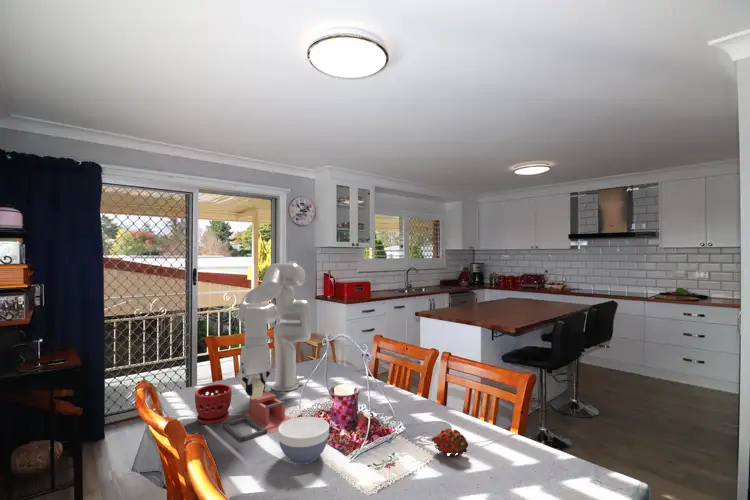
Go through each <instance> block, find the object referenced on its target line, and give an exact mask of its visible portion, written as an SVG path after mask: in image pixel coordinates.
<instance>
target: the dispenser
mask: <svg viewBox="0 0 750 500" xmlns="http://www.w3.org/2000/svg"><path fill="white" fill-rule="evenodd" d="M248 398H249V399H248V400H249V401H248V402H249V410H248V412H247V413H245V414H243V416H244V417H246V416H248V417H249V418H251V419H252V420H254V421H255V422H256V423H258V424H259V425H261V426H262V427H264V428H265V429H267V433H269V434H274V433H276V432H277V433H278V429H279V426H280V425H281V424H282V423H284V422H285V421H287V420H290V419H292V417H290V416H288V415H286V401H285V400H283V401H281V400H280V399H277V395H276V394H274V393H272V392H271V391H269V390H265V392H263V394H262V397H259V398H256V399H252V400H251V399H250V397H248Z"/></svg>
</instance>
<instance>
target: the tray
mask: <svg viewBox="0 0 750 500" xmlns="http://www.w3.org/2000/svg"><path fill="white" fill-rule="evenodd" d="M243 422H246V423H247V424H249V425H250V426H252V427H253V428H255V429H256V430H257V431H255V432H251V433H249V434H245V435H243V434H242V433H241V432H239V431H238V430H237V429H236V428H234V427H233V425H236V424H237V425H238V424H240V423H243ZM222 427H223V428H225V430H226V431H228V432H229V433H230V434H231V435H233V436H234V437H235V438H237V439H238V440H239V441H240V442H244V441H248V440H251V439H254V438H257V437H259V436H263V435H267V434H268V431H267V429H265V428H264V427H262V426H261V425H259V424H258V423H256V422H255V421H254V420H252V419H251V418H249V417H248V416H243V417H240V418H237V419H233V420H229V421H225V422H223V423H222Z"/></svg>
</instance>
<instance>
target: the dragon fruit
mask: <svg viewBox="0 0 750 500" xmlns="http://www.w3.org/2000/svg"><path fill="white" fill-rule="evenodd" d="M431 442H433V444H434V448H435V449H436V450H437V449H438V450H439V451H438V450H437V451H438V452H443V451H445V452H446V453H445V456H446V455H447V453H451V454H452V456H453V455H455V454H456V453H458V454H459V455H463V454H466V453H467V452H468V449H467V448H468V447H469V443H468V441H467V438H466V437H465V436H464V435H463V433H461V432H460V431H459V430H457V429H451V428H446V429H443V430H441V432H440V433H439V434H436V435H435V436H434V437H433V438H432V439H431ZM463 452H465V453H463Z"/></svg>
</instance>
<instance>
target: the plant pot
mask: <svg viewBox="0 0 750 500" xmlns="http://www.w3.org/2000/svg"><path fill="white" fill-rule="evenodd" d="M207 393H208V394H207ZM231 402H232V387H231V385H228V384H224V383H223V384H222V383H215V384H208V385H204V386H201V387H199V388H197V390H195V393H194V403H195V405H194V406H195V409H196V412H197V414H198V415H197V416H196V420H197V421H198V422H199V424H202V425H207V424H215V423H219V422H220V423H221V422H222V421H223V422H224V421H225V420H226V419H228V418H229V416H230V411H229V409H230V406H231Z"/></svg>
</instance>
